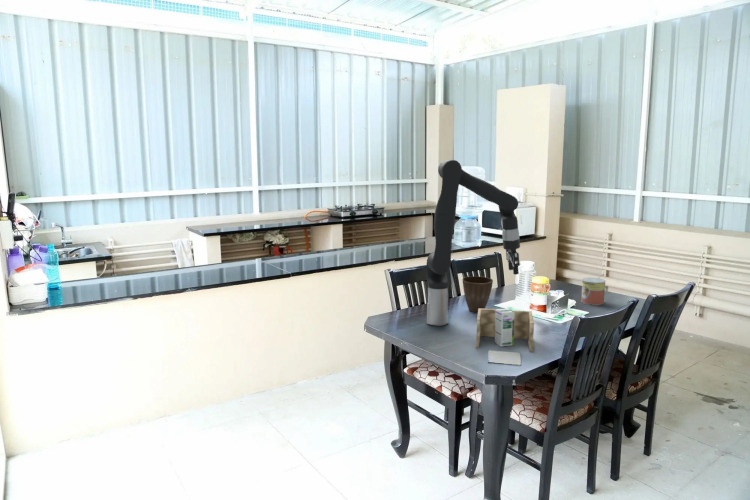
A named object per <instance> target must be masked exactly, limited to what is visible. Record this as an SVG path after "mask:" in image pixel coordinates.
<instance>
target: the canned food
mask: <svg viewBox="0 0 750 500" xmlns="http://www.w3.org/2000/svg"><path fill="white" fill-rule="evenodd" d="M605 289H606V280H605V279H604V278H603V279H602V278H599V277H583V278H582V284H581V298H580V302H581V303H582V302H583V303H582V304H585V303H586V304H585V305H589V304H592V305H591V306H600V305H601V304H602V305H604V304H605Z"/></svg>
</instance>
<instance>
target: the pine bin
mask: <svg viewBox="0 0 750 500" xmlns="http://www.w3.org/2000/svg"><path fill="white" fill-rule="evenodd" d="M495 310H497V308H485V309H481V308H478V312H477V317H476V338H475V339H476V340H475V341H476V342H475V346H476V347H475V348H476V349H479V348H480V344H481V342H480V341H481V337H487V336H488V337H489V338H491V337H492V338H495ZM511 310H512V311H514V312H515V314H514V339H518V340H519V339H520V340H527V344H528V351H529V353H533V351H534V331H535V330H534V328H535V322H534V321H535V320H534V316H533V312H532V311H531V310H513V309H511ZM488 337H487V338H488Z"/></svg>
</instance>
